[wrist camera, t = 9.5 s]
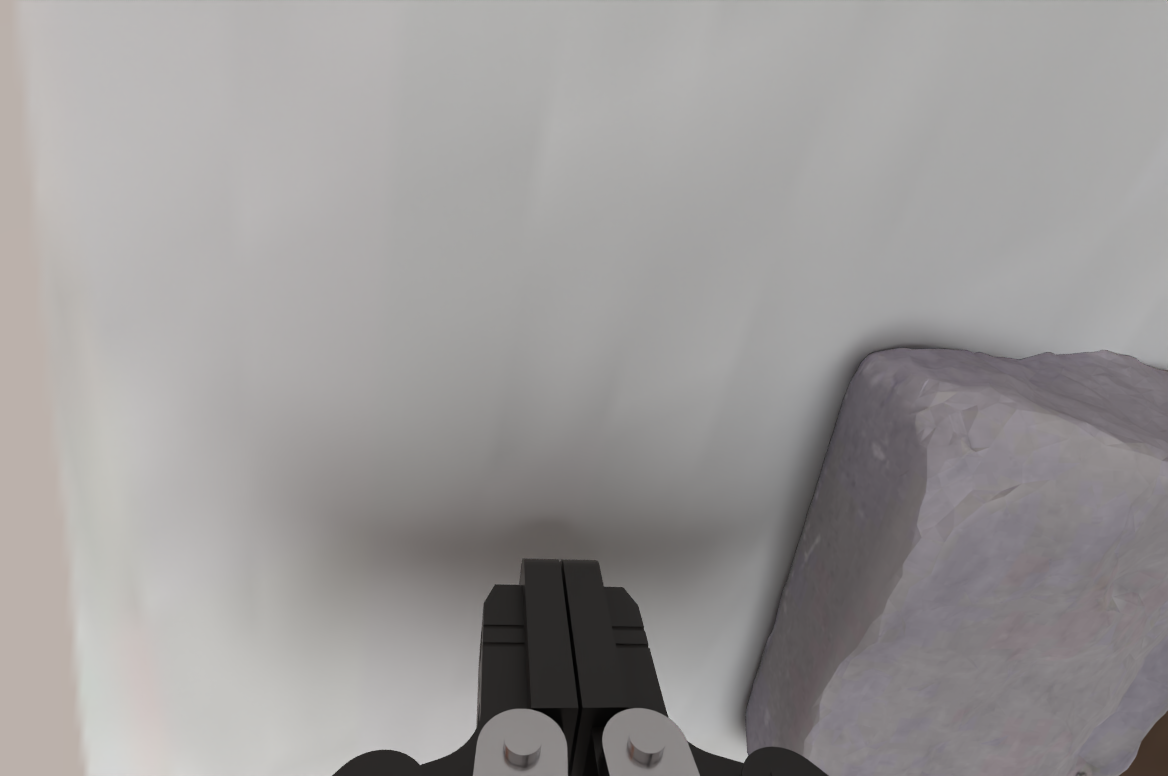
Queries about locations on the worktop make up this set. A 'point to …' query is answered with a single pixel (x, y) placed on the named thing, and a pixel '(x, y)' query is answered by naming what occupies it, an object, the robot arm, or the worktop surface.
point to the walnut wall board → (1152, 752)
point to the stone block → (978, 572)
